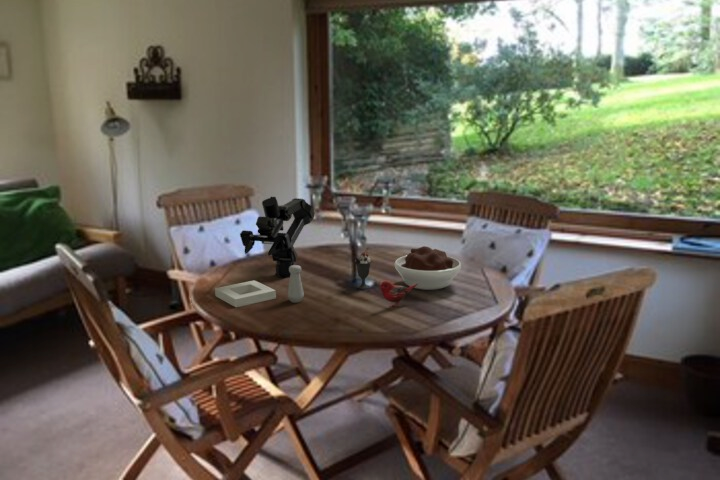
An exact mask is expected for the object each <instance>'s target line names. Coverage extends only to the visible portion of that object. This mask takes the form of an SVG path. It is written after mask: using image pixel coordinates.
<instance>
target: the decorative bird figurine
mask: <svg viewBox="0 0 720 480" xmlns="http://www.w3.org/2000/svg"><path fill="white" fill-rule="evenodd" d="M416 285H418V284H415V285H413V286H403V285H395V284H393V283H392V282H390V281H387V280H384V281H382V283H381V285H380V287H379V290H381V292H382V294H383V295H382V296H383V297H384V299H386V301H388V302H390V303H393V304H392V305H389V306H388V307H389V308H395V306H398V305H400V303H399V302H400V301H402V300H403V299H404V298H405V297H406V296H408V293H409V292H410V291H411V290H412V289H415V288H414V287H415V286H416Z"/></svg>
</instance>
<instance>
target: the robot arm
mask: <svg viewBox="0 0 720 480" xmlns="http://www.w3.org/2000/svg"><path fill="white" fill-rule="evenodd" d="M261 205H262V209H263V213H264V216H257V220H256V222H255V226H257V228H258V229H257V233H258V234H254V232H253V231H252V230H242V231H241V232H240V233H239V237H240V239H241V243H242V246H244V254H245V255H247V254H248V253H249V252H250V251H251V250H252V249H253V248H254V245H255V243H256V242H261V244H265V245H270V247H269V250H268V252H267V255H268V257H269V256H271V257H272V261H273V262H276V264H275V273H274V275H275V276H277V277H279V278H282V279H285V278H290V275H291V273H290V272H289V267H290V266H292V265H295V262H297V260H298V254H297V252H296V250H295V248H294V245H295V243H296V241H297V239H298V238H299V235H300V234H301V232H302V231H303V229H304V227H305V226H306V225H310V224H311V223H312V221H313V220H314V218H315V213H316V212H315V210H314V208H313V206H312V205H311V204H309V203H308V202H307V201H306V199H303V198H297V197H295V198H292V199H291V200H290V201H287V203H285V204H283V205H282V204H281V205H279V203H278V199H277V197H276V196H270V197H269V198H266V199H264V200H262V202H261ZM292 217H293V219H294V220H293V221H292V223H291V224H290V225H289V226H288V229H287V231H286V232H280V231H284V222H289V221H290V220H291V219H292Z"/></svg>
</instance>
